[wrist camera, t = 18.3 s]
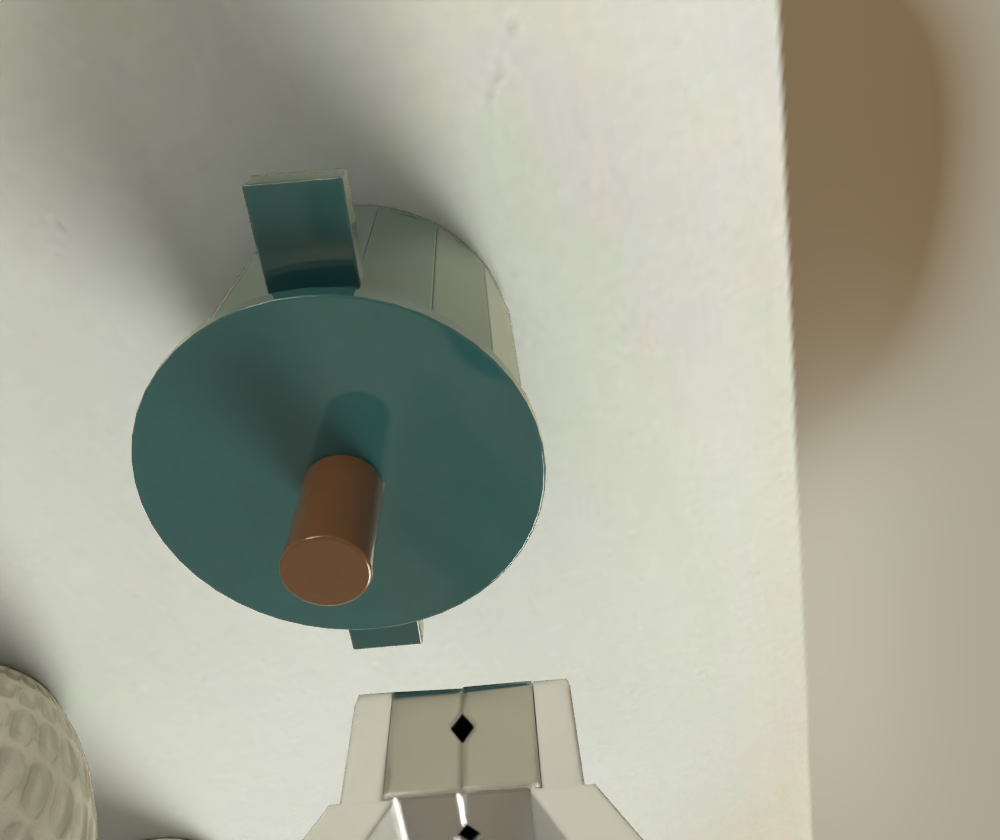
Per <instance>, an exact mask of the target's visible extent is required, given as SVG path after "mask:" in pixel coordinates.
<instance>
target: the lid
mask: <svg viewBox="0 0 1000 840" xmlns="http://www.w3.org/2000/svg"><path fill="white" fill-rule="evenodd" d="M132 465H133V472H134V478H135V483H136V487H137V490H138V493H139V496H140V499H141V503H142V505H143V507H144V509H145V511H146V513H147V515H148V517H149V519H150V521H151V524H152V525H153V527H154V528H155V530H156V531H157V533H158V534H159V536H160V537H161V539H162V540H163V542H164V543H165V544H166V545H167V547H168V548H169V549H170V550H171V551H172V552H173V553H174V555H175V556H176V557H177V558H178V559H179V560H180V561H181V562H182V563H183V564H184V565H185V566H186V567H187V568H188V569H189V570H191V571H192V572H193V573H194V574H195V575H196V576H197V577H199V578H200V579H201V580H203V581H204V582H206V583H207V584H208V585H210V586H211V587H212V588H214V589H215V590H217V591H218V592H220V593H222V594H224V595H225V596H227V597H229V598H231V599H232V600H234V601H236V602H238V603H240V604H242V605H244V606H247V607H249V608H251V609H253V610H255V611H258V612H260V613H263V614H266V615H269V616H272V617H275V618H278V619H281V620H285V621H289V622H293V623H298V624H302V625H307V626H314V627H321V628H328V629H347V630H357V629H377V628H384V627H392V626H399V625H403V624H407V623H411V622H416V621H420V620H423V619H426V618H429V617H431V616H434V615H437V614H440V613H443V612H445V611H447V610H449V609H451V608H453V607H455V606H457V605H460V604H462V603H463V602H465V601H467V600H468V599H470V598H471V597H473V596H475V595H476V594H478V593H480V592H481V591H482V590H483V589H485V588H486V587H487V586H488V585H490V584H491V583H492V582H494V581H495V580H496V579H497V578H498V577H499V576H500V575H501V574H502V573H503V572H504V571H505V570H506V569H507V568H508V567H509V566H510V565H511V564H512V562H513V561H514V560H515V558H516V557H517V556H518V554H519V553H520V552H521V550H522V549H523V548H524V546H525V544H526V542H527V540H528V538H529V537H530V535H531V533H532V531H533V529H534V527H535V524H536V521H537V519H538V516H539V513H540V510H541V506H542V501H543V496H544V491H545V475H546V465H545V457H544V449H543V442H542V437H541V433H540V430H539V426H538V423H537V419H536V416H535V413H534V411H533V409H532V407H531V405H530V402H529V400H528V398H527V396H526V394H525V392H524V391H523V389H522V388H521V386H520V384H519V383H518V381H517V380H516V378H515V377H514V375H513V374H512V372H511V371H510V370H509V369H508V368H507V367H506V365H505V364H504V363H503V362H502V361H501V360H500V359H499V358H498V356H497V355H496V354H495V353H494V352H493V351H492V350H491V349H489V348H488V347H487V346H486V345H485V344H484V343H482V342H481V341H480V340H479V339H478V338H477V337H476V336H474V335H473V334H472V333H470V332H469V331H467V330H466V329H464V328H462V327H461V326H459V325H458V324H456V323H455V322H453V321H452V320H450V319H448V318H446V317H444V316H442V315H440V314H438V313H436V312H434V311H432V310H430V309H428V308H426V307H424V306H421V305H419V304H416V303H413V302H410V301H407V300H404V299H402V298H399V297H396V296H391V295H387V294H382V293H378V292H373V291H369V290H361V289H351V288H341V287H314V288H300V289H294V290H287V291H280V292H275V293H271V294H268V295H264V296H261V297H257V298H254V299H250V300H247V301H245V302H243V303H240V304H238V305H236V306H234V307H231V308H229V309H227V310H224V311H222V312H221V313H219V314H217V315H216V316H214V317H213V318H211V319H209V320H208V321H206V322H205V323H203V324H201V325H200V326H198V327H197V328H196V329H195V330H194V331H193V332H191V333H190V334H189V335H188V336H187V337H186V338H184V339H183V340H182V341H181V342H180V343H179V344H178V345H177V346H176V347H175V349H174V350H173V351H172V352H171V353H170V354H169V356H168V357H167V358H166V359H165V360H164V361H163V363H162V364H161V366H160V367H159V368H158V370H157V371H156V373H155V375H154V376H153V378H152V380H151V381H150V383H149V385H148V386H147V388H146V390H145V392H144V394H143V397H142V400H141V402H140V405H139V408H138V410H137V413H136V418H135V423H134V428H133V433H132Z"/></svg>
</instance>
